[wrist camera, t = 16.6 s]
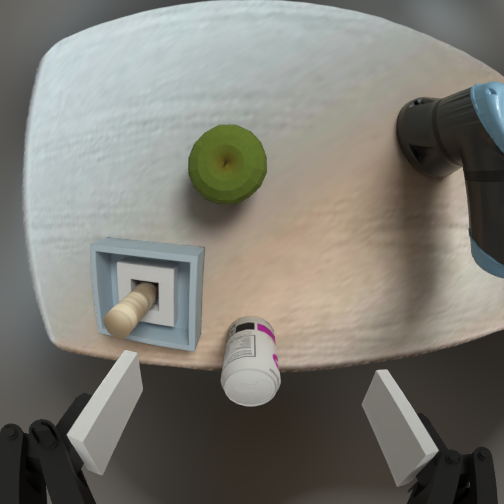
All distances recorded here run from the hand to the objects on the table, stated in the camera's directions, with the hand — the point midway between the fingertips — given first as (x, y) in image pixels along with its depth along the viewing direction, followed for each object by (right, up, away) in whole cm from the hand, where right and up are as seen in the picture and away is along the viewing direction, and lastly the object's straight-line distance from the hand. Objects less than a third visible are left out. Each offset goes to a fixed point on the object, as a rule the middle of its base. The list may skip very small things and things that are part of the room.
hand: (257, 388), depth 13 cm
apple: (-4, +20, +28) cm, 35 cm away
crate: (-18, +1, +32) cm, 37 cm away
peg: (-18, +1, +32) cm, 36 cm away
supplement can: (-1, -7, +34) cm, 35 cm away
